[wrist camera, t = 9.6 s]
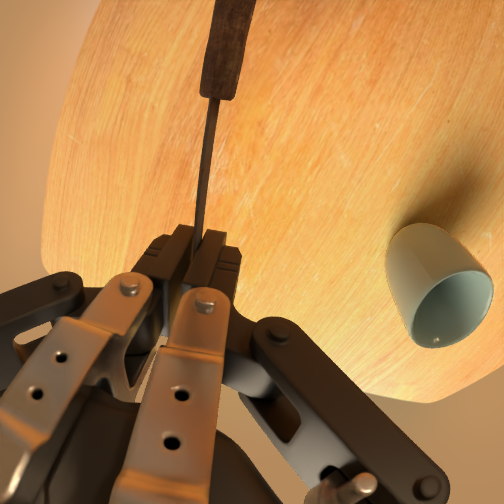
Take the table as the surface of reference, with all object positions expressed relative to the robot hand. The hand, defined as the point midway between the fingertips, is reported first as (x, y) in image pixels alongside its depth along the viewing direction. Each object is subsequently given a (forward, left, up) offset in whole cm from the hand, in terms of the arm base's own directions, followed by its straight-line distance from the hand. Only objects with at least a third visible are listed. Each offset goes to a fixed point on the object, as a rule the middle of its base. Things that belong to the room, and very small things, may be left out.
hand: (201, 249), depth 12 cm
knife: (0, +6, 0) cm, 6 cm away
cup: (+17, -5, -15) cm, 24 cm away
